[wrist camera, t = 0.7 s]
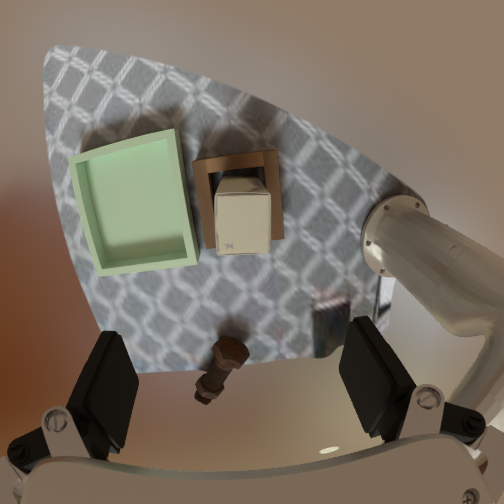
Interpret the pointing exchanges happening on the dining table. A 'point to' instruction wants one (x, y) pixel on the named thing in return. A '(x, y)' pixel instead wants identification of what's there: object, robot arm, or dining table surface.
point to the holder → (231, 162)
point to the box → (242, 216)
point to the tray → (136, 204)
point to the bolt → (220, 368)
